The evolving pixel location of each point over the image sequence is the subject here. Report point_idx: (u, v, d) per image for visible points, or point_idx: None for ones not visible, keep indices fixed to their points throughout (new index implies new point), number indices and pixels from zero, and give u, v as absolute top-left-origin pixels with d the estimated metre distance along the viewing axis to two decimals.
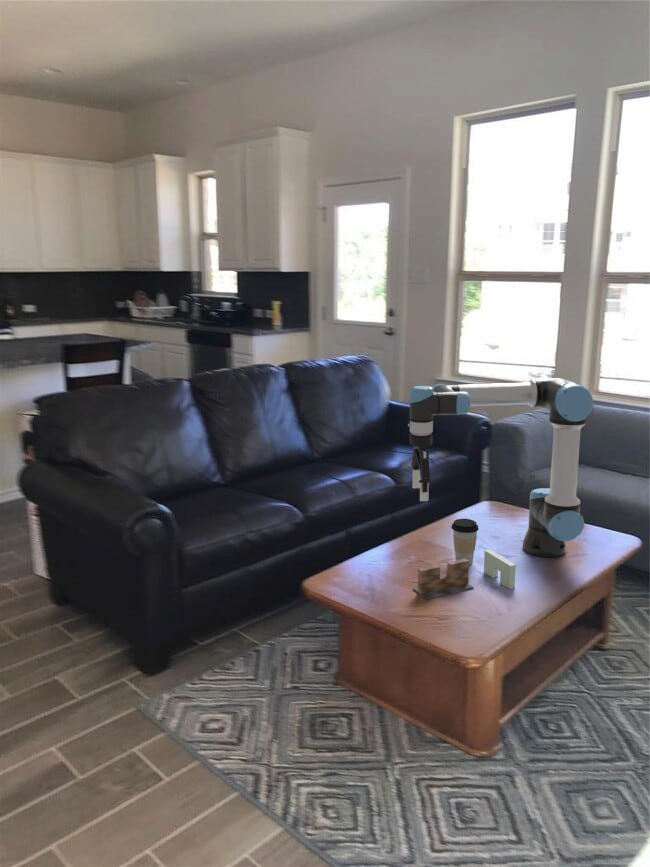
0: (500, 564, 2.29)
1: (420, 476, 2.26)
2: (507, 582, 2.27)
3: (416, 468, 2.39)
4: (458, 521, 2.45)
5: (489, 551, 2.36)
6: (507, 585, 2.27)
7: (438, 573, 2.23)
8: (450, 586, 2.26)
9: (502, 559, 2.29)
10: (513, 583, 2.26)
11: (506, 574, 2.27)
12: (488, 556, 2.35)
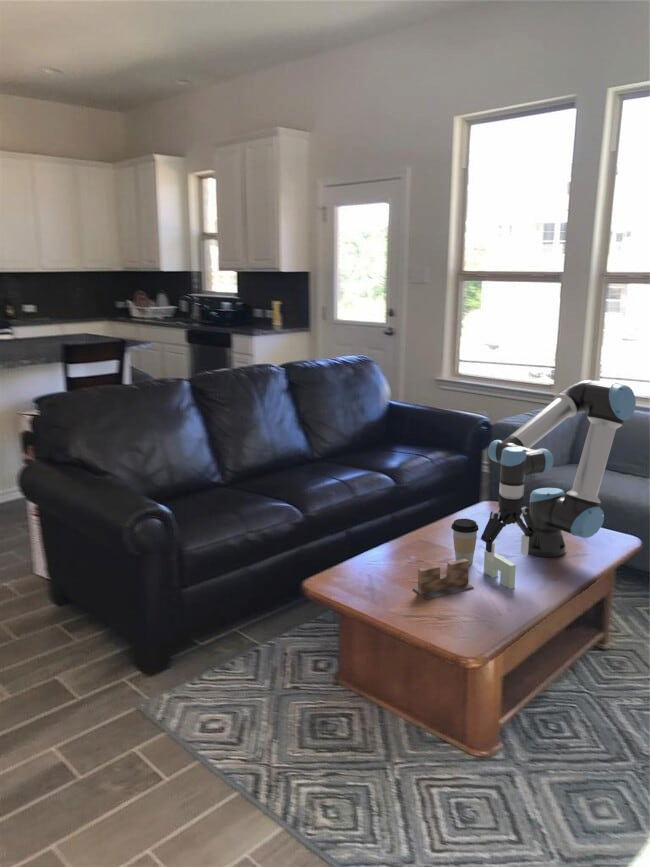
0: (500, 564, 2.29)
1: None
2: (507, 582, 2.27)
3: (526, 534, 2.27)
4: (458, 521, 2.45)
5: None
6: (507, 585, 2.27)
7: (438, 573, 2.23)
8: (450, 586, 2.26)
9: (502, 559, 2.29)
10: (513, 583, 2.26)
11: (506, 574, 2.27)
12: None
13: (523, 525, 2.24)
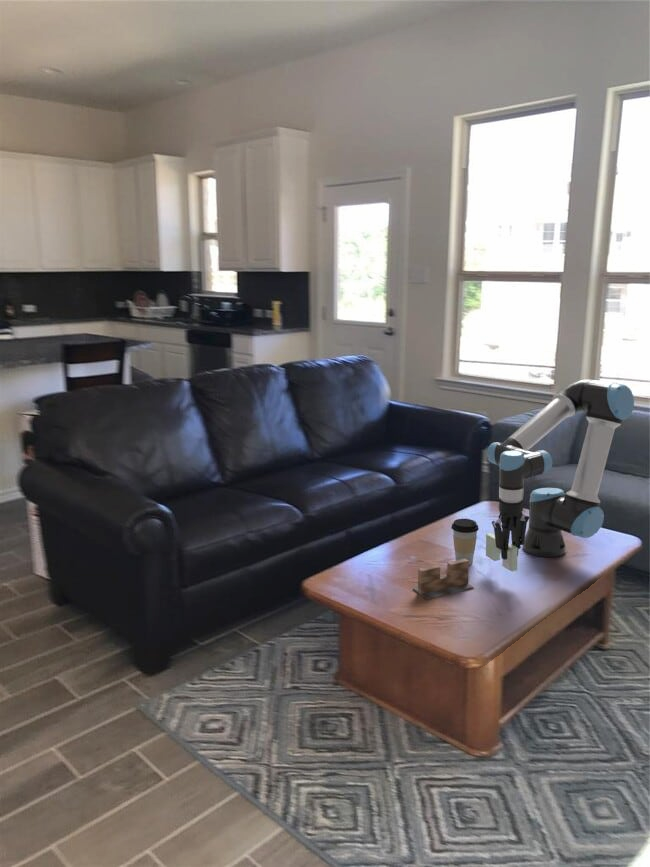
0: None
1: None
2: None
3: (514, 545, 2.26)
4: (458, 521, 2.45)
5: (491, 534, 2.35)
6: None
7: (438, 573, 2.23)
8: (450, 586, 2.26)
9: None
10: (515, 566, 2.25)
11: None
12: (490, 539, 2.33)
13: (517, 533, 2.24)
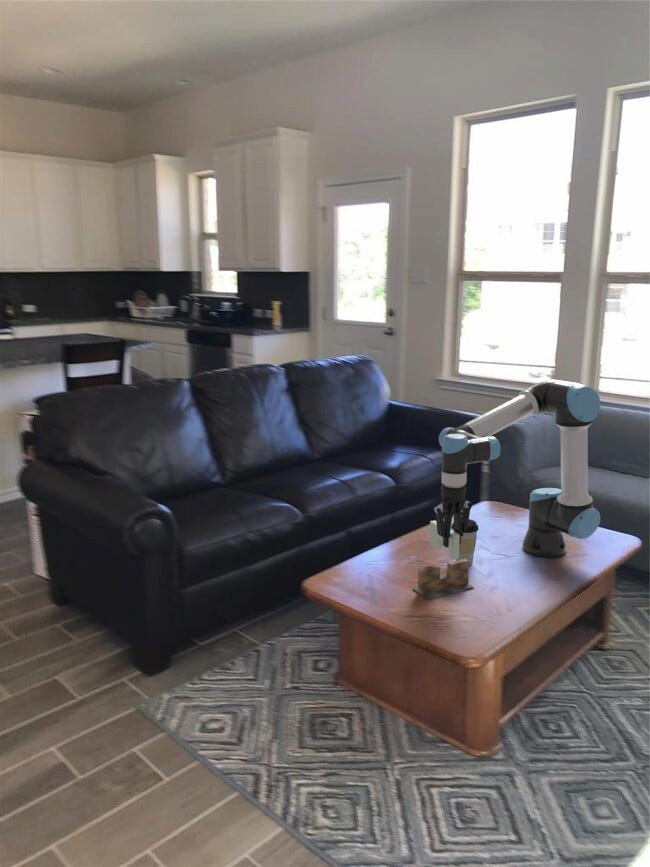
0: None
1: None
2: (451, 552, 2.18)
3: (456, 532, 2.18)
4: None
5: (435, 522, 2.27)
6: (451, 556, 2.18)
7: (438, 573, 2.23)
8: (450, 586, 2.26)
9: None
10: (457, 554, 2.17)
11: None
12: (434, 527, 2.25)
13: (459, 520, 2.16)
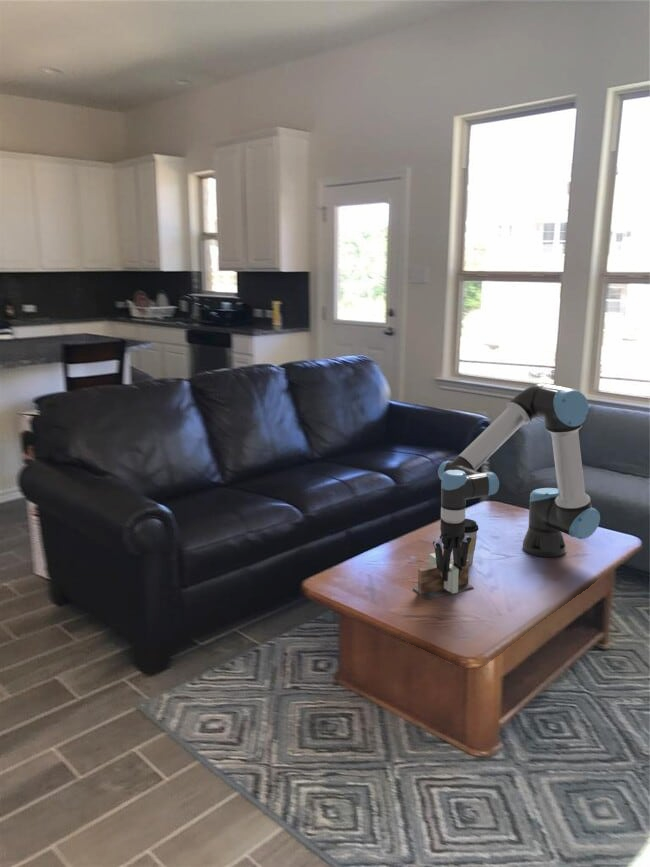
0: None
1: None
2: None
3: (455, 566, 2.21)
4: None
5: (434, 555, 2.29)
6: (450, 590, 2.20)
7: (438, 573, 2.23)
8: None
9: None
10: (456, 588, 2.20)
11: None
12: (433, 560, 2.28)
13: (458, 554, 2.19)
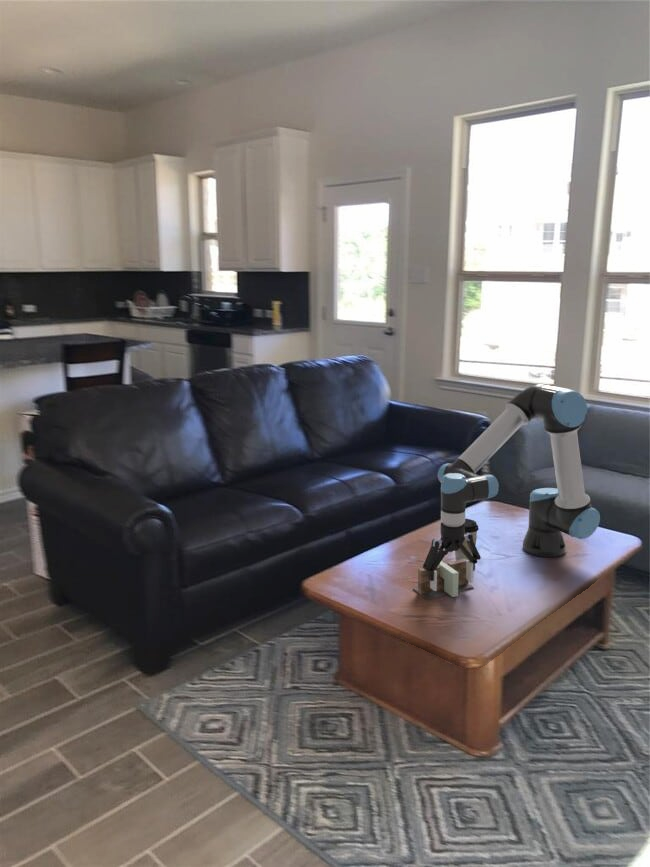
0: (444, 571, 2.23)
1: None
2: (450, 590, 2.21)
3: (470, 560, 2.23)
4: None
5: None
6: (450, 593, 2.21)
7: (438, 573, 2.23)
8: None
9: (445, 567, 2.23)
10: (456, 591, 2.20)
11: (449, 582, 2.21)
12: None
13: (466, 552, 2.20)
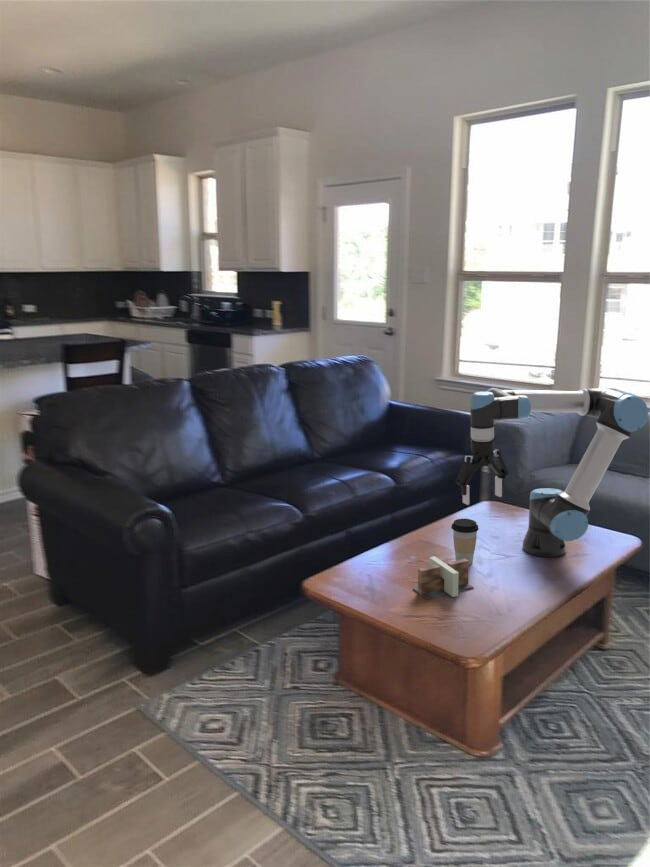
0: (444, 571, 2.23)
1: None
2: (450, 590, 2.21)
3: (499, 476, 2.35)
4: (458, 521, 2.45)
5: (434, 558, 2.30)
6: (450, 593, 2.21)
7: (438, 573, 2.23)
8: None
9: (445, 567, 2.23)
10: (456, 591, 2.20)
11: (449, 582, 2.21)
12: (433, 563, 2.28)
13: (495, 467, 2.32)
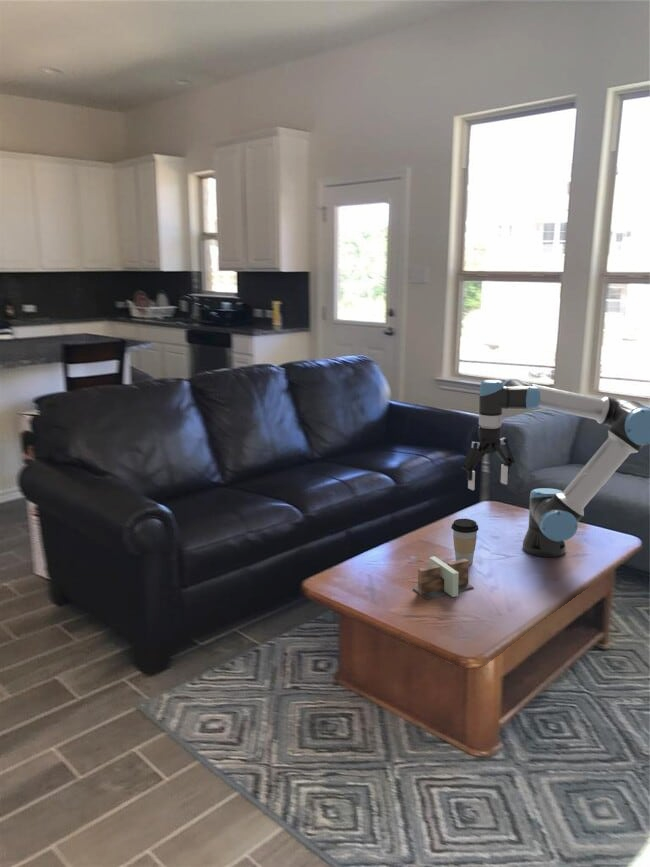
0: (444, 571, 2.23)
1: None
2: (450, 590, 2.21)
3: (505, 464, 2.40)
4: (458, 521, 2.45)
5: (434, 558, 2.30)
6: (450, 593, 2.21)
7: (438, 573, 2.23)
8: None
9: (445, 567, 2.23)
10: (456, 591, 2.20)
11: (449, 582, 2.21)
12: (433, 563, 2.28)
13: (502, 455, 2.37)
